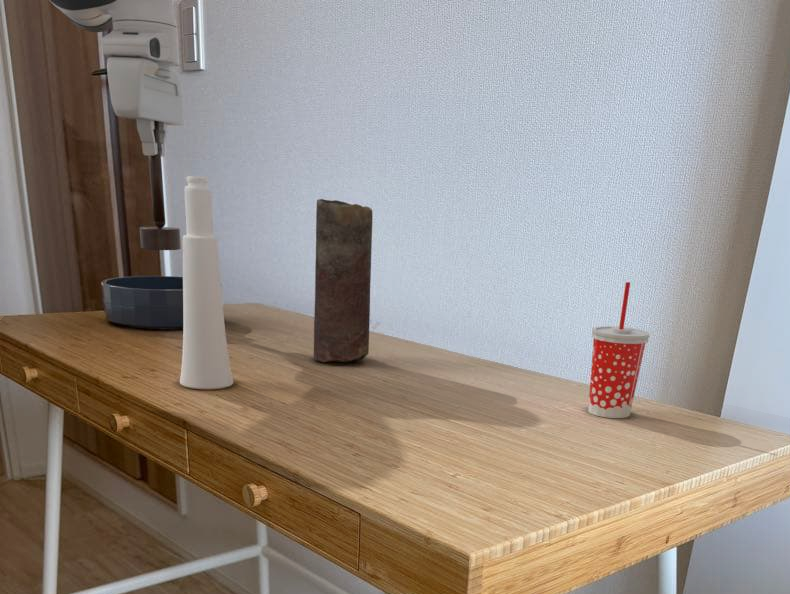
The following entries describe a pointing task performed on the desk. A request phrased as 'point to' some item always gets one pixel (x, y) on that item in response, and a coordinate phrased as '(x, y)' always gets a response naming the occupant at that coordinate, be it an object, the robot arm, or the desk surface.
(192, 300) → the cosmetic bottle
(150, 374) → the desk surface
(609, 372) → the beverage cup
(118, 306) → the bowl
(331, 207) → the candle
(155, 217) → the ladle
